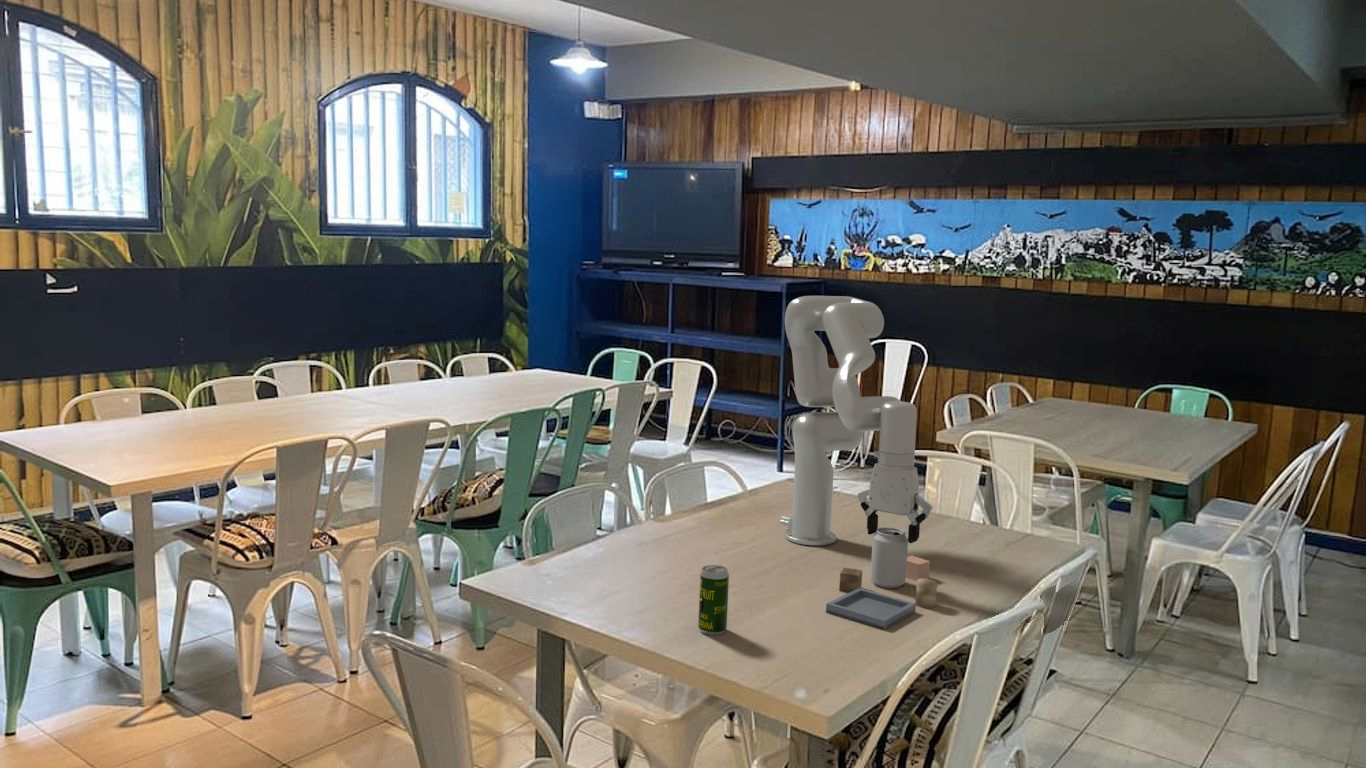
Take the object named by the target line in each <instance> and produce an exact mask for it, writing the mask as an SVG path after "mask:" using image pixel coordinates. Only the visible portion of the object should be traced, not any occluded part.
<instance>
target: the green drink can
mask: <svg viewBox="0 0 1366 768" xmlns="http://www.w3.org/2000/svg"><path fill="white" fill-rule="evenodd" d="M699 577H700V578H699V595H698V596H699V598H698V622H697V623H698V624H697V625H698V627H697V628H698V629H699V632H700V633H701V634H705V635H706V636H707V635H708V636H720V635H722V634H725V632H726V630H727V628H728V627H727V626H728V608H729V607H728V605H729V587H730V586H729V585H730V584H729V580H730V575H729V569H728V568H727V567H726V566H722V565H716V564H711V565H710V564H708V565H706V566H702V567H701V571H700V575H699Z"/></svg>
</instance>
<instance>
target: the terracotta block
mask: <svg viewBox="0 0 1366 768" xmlns="http://www.w3.org/2000/svg"><path fill="white" fill-rule="evenodd" d="M930 564H931V563H930V560H927V559H924V558H921V557H918V556H915V555H907V564H906V578H905V579H908V580H911V579H912V581H914V580H915V582H917V580H918V579H921V578H927V579H930V576H929V575H930Z"/></svg>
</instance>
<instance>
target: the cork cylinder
mask: <svg viewBox="0 0 1366 768" xmlns="http://www.w3.org/2000/svg"><path fill="white" fill-rule="evenodd" d="M937 588H938V582H937V581H936V580H935V579H932V578H928V579H927V578H921V579H918V580H917V581H916V593H915V604H916V606H917V607H919V608H923V609H934V608H936V602H937V592H938V591H937Z"/></svg>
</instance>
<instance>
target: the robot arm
mask: <svg viewBox="0 0 1366 768" xmlns="http://www.w3.org/2000/svg"><path fill="white" fill-rule="evenodd" d="M884 326H885V318H884V315H883V313H882V311H881V309H880V308H879V306H878V305H876V304H875V303H874V302H871V301H867V300H863V299H860V298H857V297H853V296H847V295H845V296H843V295H841V296H840V295H838V296H837V295H835V296H834V295H803V296H799V297H797V298H794V299H792V300H791V301H790V302H789V303H788V305H787V307H786V309H785V315H784V327H785V328H784V329H785V334H786V338H787V340H788V343H789V346H790V350H791V354H792V366H793V367H792V368H793V376H794V387H795V390H794V391H795V397H796V400H797V402H798V404H799V405H800V406H803V407H807V408H831V407H833V408H834V409H835V411H830V412H828V411H825V412H823V411H822V412H820V411H819V412H809V413H804V414H802V415H799V417H797V418H796V419H795V421H794V422H793V425H792V440H793V447H794V473H793V474H794V478H793V482H794V483H793V499H792V513H791V514H792V515H791V516H792V517H791V516H789V515H785V514H783V515H782V516H781V517H780V520H779V524H780V525H783V526H787V529H786V531H785V532H784V537H785V539H787V541H790V542H792V543H794V544H798V545H804V546H826V545H830V544H833V543H835V542H836V541H837V535H836V533H835V532H833V531H831V525H832V524H831V522H832V520H831V519H832V507H833V506H832V504H833V488H834V473H835V472H834V466H833V463H832V462H831V460H830V459H829V457H828V456H827V454H826V453H828V452H833V451H834V452H837V451H849V450H850V451H851V450H855V449H857V448H858V447H859V446H860V445H861V443H862V442H863V441H862V440H863V437H864V432H872V431H873V432H874V431H877V432H879V443H878V450H874V452H873V457H874V458H876V459H877V463H874V466H873V469H872V473H871V477H870V483H869V488H868V489H866V490H864V491H861V492H859V493H857V498H858V501H859V503H860V507H861V508H862V510H863V511H864V515H865V516H867V518H866V529H867V534H868V535H874V534H876V533H877V531H876V530H877V529H878V528H879V515H878V512H882V513H888V514H894V515H897V516H906V517H907V519H908V520H909V522H910V524H909V525H908V535H907V538H908V544H913V543H916V542H917V541H918V540H919V538H920V528H921V527H920V526H921V524H922V523H923V522H924V521H925V520H926V519H928V517H929V516H930V513H931V512H932V510H933V505H932V504H930V503H929V502H928V501H926V500H925V499H924V498H923V497H921V496H920V486H919V485H920V484H919V483H920V482H919V473H918V468H917V467H916V466H915V457H916V456H915V454H916V439H917V438H916V437H917V436H916V435H917V433H916V432H917V421H918V420H917V419H918V417H917V416H918V413H917V412H918V410H917V406H916V405H915V404H914V403H911V402H907V401H902V400H900V399H899V398H897V397H895V396H891V395H890V396H889V395H888V396H886V395H883V396H881V395H880V396H876V395H874V396H861V391H860V390H861V389H860V385H859V384H860V383H859V381H858V379H857V377H856V375H858V374H860V373H861V374H862V372H864V371H866V370H867V369H868V368H870V367H871V366H872V365H873V363H874V362H875V360H876V352H875V350H874V348H873V345H872V342H871V340H870V339H875V338H877V337H879V336H880V335H881V334H882V332H883V330H884ZM815 331H816V332H817V331H819V332H820V331H821V332H825V333H826V335H827V339H828V340H829V343H830V346H831V348H832V351H833V353H834V356H835V358H836V361H837V363H838V367H837V368H836V367H834V368H832V367H830V366H829V363H828V352H827V351H828V350H827V348H826V346H825V344H824V343H823V341H822V339H821V338H820V337H819V335H817V333H815ZM867 497H868V498H867ZM919 507H921V508H922V511H921V513H919V512H918V511H919Z"/></svg>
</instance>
